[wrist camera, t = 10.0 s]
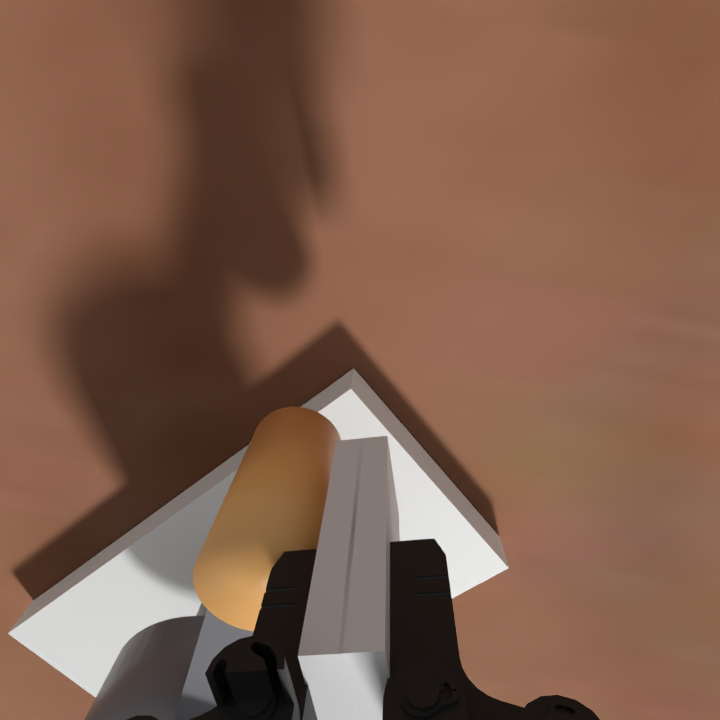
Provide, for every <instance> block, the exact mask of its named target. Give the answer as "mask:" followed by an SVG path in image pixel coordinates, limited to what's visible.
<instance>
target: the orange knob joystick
mask: <svg viewBox="0 0 720 720" xmlns="http://www.w3.org/2000/svg"><path fill="white" fill-rule="evenodd" d="M340 440H341V438H340V435H339V433H338V431H337V429H336V428H335V426H334V425H333V424H332V423H331V421H330V420H328V419H327V418H326V417H325V416H323V415H322V414H320V413H318V412H316V411H314V410H311V409H308V408H304V407H285V408H281V409H278V410H275V411H273V412H271V413H270V414H268V415H267V416H266V417H265V418H263V419H262V421H261V422H260V423H259V425H258V426H257V428H256V430H255V432H254V435H253V437H252V439H251V441H250V443H249V446H248V448H247V450H246V452H245V454H244V457H243V459H242V461H241V463H240V465H239V468H238V470H237V472H236V474H235V476H234V479H233V481H232V483H231V485H230V487H229V490H228V492H227V494H226V496H225V498H224V501H223V503H222V505H221V507H220V509H219V512H218V514H217V516H216V518H215V520H214V523H213V525H212V527H211V529H210V531H209V534H208V536H207V538H206V540H205V542H204V545H203V547H202V549H201V551H200V553H199V556H198V558H197V560H196V563H195V565H194V569H193V584H194V588H195V591H196V594H197V596H198V598H199V599H200V601H201V602H202V604H203V605H204V606H205V607H206V608H207V611H206V615H205V616H186V617H178V618H172V619H168V620H164V621H161V622H158V623H155V624H153V625H151V626H148V627H146V628H145V629H143V630H141V631H140V632H138V633H137V634H135V635H134V636H133V637H132V638H131V639H129V640H128V642H127V643H126V644H125V645H124V646H123V648H122V649H121V651H120V653H119V655H118V657H117V658H116V660H115V662H114V664H113V666H112V668H111V670H110V672H109V674H108V676H107V678H106V679H105V681H104V683H103V685H102V687H101V689H100V691H99V693H98V695H97V697H96V699H95V700H94V702H93V704H92V706H91V708H90V710H89V712H88V714H87V716H86V718H85V720H126V719H129V718H132V717H134V716H137V715H151V716H153V717H155V718H157V719H158V720H190V719H192V718H195V717H197V716H200V715H202V714H204V713H206V712H208V711H210V710H212V709H213V708H214V707H216V706H217V704H216V702H215V699H214V696H213V694H212V691H211V688H210V686H209V683H208V680H207V678H206V675H205V672H206V671H207V669H208V667H209V665H210V663H211V661H212V660H213V658H214V657H215V656H216V655H217V654H218V653H219V652H220V651H221V650H222V649H223V648H224V647H226V646H228V645H229V644H231V643H233V642H235V641H236V640H238V639H241V638H245V637H250V636H253V632H254V629H255V625H256V622H257V618H258V614H259V611H260V609H261V604H262V600H263V597H264V593H266V586H267V582H268V579H269V575H270V572H271V569H272V567H273V566H274V565H275V563H276V562H277V561H278V560H279V558H280V557H281V556H282V554H283V553H284V552H285V551H297V550H310V549H317V547H318V541H319V536H320V530H321V525H322V519H323V514H324V508H325V503H326V497H327V492H328V486H329V481H330V475H331V470H332V464H333V458H334V453H335V447H336V442H337V441H340Z"/></svg>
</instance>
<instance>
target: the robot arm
mask: <svg viewBox="0 0 720 720" xmlns="http://www.w3.org/2000/svg"><path fill="white" fill-rule="evenodd" d="M205 675H206V678H207V680H208V683H209V686H210V688H211V691H212V694H213V696H214V699H215V702H216V704H217V706H216V707H214V708H213V709H212V710H210V711H208V712H206V713H204V714H202V715H200V716H197V717H195V718H192V719H190V720H600V719H599V718H598V717H597V716H596V715H595V713H594V712H593V711H592V710H590V709H589V708H587V707H586V706H584V705H583V704H581V703H579V702H578V701H576V700H574V699H570V698H567V697H563V696H559V695H552V696H541V697H539V698H537V699H535V700H534V701H532V702H530V703H528V704H527V705H526V706H525V708H523V707H520V706H516V705H513V704H509V703H506V702H502V701H500V700H497V699H495V698H492V697H490V696H488V695H486V694H485V693H483V692H482V691H480V690H479V689H478V688H476V687H475V685H474V684H473V683H472V682H471V681H470V680H469V679H468V677H467V676H466V674H465V672H464V670H463V668H462V665H461V661H460V658H459V650H458V643H457V635H456V627H455V620H454V612H453V605H452V597H451V590H450V582H449V575H448V567H447V560H446V554H445V553H444V551H443V550H442V549H441V547H440V546H439V544H438V543H437V542H436V540H435V539H434V538H433V539H420V540H407V541H400V536H399V512H398V505H397V498H396V491H395V484H394V478H393V471H392V464H391V457H390V450H389V444H388V437H387V436H380V437H369V438H360V439H350V440H340V441H337V442H336V447H335V453H334V458H333V464H332V470H331V475H330V481H329V486H328V492H327V497H326V503H325V508H324V514H323V519H322V525H321V530H320V536H319V541H318V547H317V549H310V550H297V551H285V552H284V553H283V554H282V556H281V557H280V558H279V560H278V561H277V562H276V563H275V565H274V566H273V567H272V569H271V572H270V575H269V579H268V582H267V586H266V593H264V597H263V600H262V604H261V609H260V611H259V614H258V618H257V622H256V625H255V629H254V632H253V636H250V637H245V638H241V639H238V640H236V641H235V642H233V643H231V644H229V645H228V646H226V647H224V648H223V649H222V650H221V651H220V652H219V653H218V654H217V655H216V656H215V657H214V658H213V660H212V661H211V663H210V665H209V667H208V669H207V671H206V672H205ZM126 720H158V719H157V718H155V717H153V716H151V715H137V716H134V717H132V718H129V719H126Z"/></svg>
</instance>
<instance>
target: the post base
mask: <svg viewBox="0 0 720 720" xmlns="http://www.w3.org/2000/svg"><path fill="white" fill-rule="evenodd" d="M301 407H304V408H308V409H311V410H314V411H316V412H318V413H320V414H322V415H323V416H325V417H326V418H327V419H328V420H330V421H331V423H332V424H333V425H334V426H335V428H336V429H337V431H338V433H339V435H340V438H341V440H350V439H360V438H369V437H380V436H387V437H388V444H389V450H390V457H391V464H392V471H393V478H394V484H395V491H396V498H397V505H398V512H399V536H400V541H407V540H420V539H433V538H434V539H435V540H436V542H437V543H438V544H439V546H440V547H441V549H442V550H443V551H444V553H445V554H446V560H447V567H448V575H449V582H450V590H451V597H452V598H454V597H456V596H458V595H459V594H461V593H463V592H465V591H467V590H469V589H471V588H472V587H474V586H476V585H478V584H480V583H482V582H484V581H485V580H487V579H489V578H491V577H493V576H495V575H497V574H498V573H500V572H502V571H504V570H506V569H508V568H509V567H508V564H507V561H506V557H505V554H504V550H503V547H502V544H501V540H500V537H499V535H498V534H497V533H496V532H495V531H494V530H493V529H492V527H491V526H490V525H489V524H488V523H487V522H486V520H485V519H484V518H483V517H482V516H481V515H480V513H479V512H478V511H477V510H476V509H475V508H474V507H473V505H472V504H471V503H470V502H469V501H468V500H467V498H466V497H465V496H464V495H463V494H462V493H461V492H460V490H459V489H458V488H457V487H456V486H455V485H454V483H453V482H452V481H451V480H450V479H449V478H448V477H447V475H446V474H445V473H444V472H443V471H442V470H441V468H440V467H439V466H438V465H437V464H436V463H435V461H434V460H433V459H432V458H431V457H430V456H429V455H428V453H427V452H426V451H425V450H424V449H423V448H422V446H421V445H420V444H419V443H418V442H417V441H416V440H415V438H414V437H413V436H412V435H411V434H410V433H409V431H408V430H407V429H406V428H405V427H404V426H403V425H402V423H401V422H400V421H399V420H398V419H397V418H396V416H395V415H394V414H393V413H392V412H391V411H390V409H389V408H388V407H387V406H386V405H385V404H384V403H383V401H382V400H381V399H380V398H379V397H378V396H377V394H376V393H375V392H374V391H373V390H372V389H371V388H370V386H369V385H368V384H367V383H366V382H365V381H364V379H363V378H362V377H361V376H360V375H359V374H358V373H357V371H356V370H355V369H354V368H353V369H352V370H350V371H349V372H348V373H346V374H345V375H344V376H342V377H341V378H339V379H338V380H337V381H335V382H334V383H333V384H331V385H330V386H328V387H327V388H326V389H324V390H323V391H322V392H320V393H319V394H317V395H316V396H315V397H313V398H312V399H311V400H309V401H308V402H306V403H305V404H304V405H302V406H301ZM248 446H249V444H248V445H247V446H246V447H244V448H243V449H242V450H240V451H239V452H237V453H236V454H235V455H233V456H232V457H231V458H229V459H228V460H226V461H225V462H224V463H222V464H221V465H220V466H218V467H217V468H215V469H214V470H213V471H211V472H210V473H209V474H207V475H206V476H204V477H203V478H202V479H200V480H199V481H197V482H196V483H195V484H193V485H192V486H191V487H189V488H188V489H186V490H185V491H184V492H182V493H181V494H180V495H178V496H177V497H175V498H174V499H173V500H171V501H170V502H169V503H167V504H166V505H164V506H163V507H162V508H160V509H159V510H158V511H156V512H155V513H153V514H152V515H151V516H149V517H148V518H146V519H145V520H144V521H142V522H141V523H140V524H138V525H137V526H135V527H134V528H133V529H131V530H130V531H129V532H127V533H126V534H124V535H123V536H122V537H120V538H119V539H118V540H116V541H115V542H113V543H112V544H111V545H109V546H108V547H107V548H105V549H104V550H102V551H101V552H100V553H98V554H97V555H95V556H94V557H93V558H91V559H90V560H89V561H87V562H86V563H84V564H83V565H82V566H80V567H79V568H78V569H76V570H75V571H73V572H72V573H71V574H69V575H68V576H67V577H65V578H64V579H62V580H61V581H60V582H58V583H57V584H56V585H54V586H53V587H51V588H50V589H49V590H47V591H46V592H45V593H43V594H42V595H40V596H39V597H38V598H36V599H35V600H33V601H32V603H31V604H30V605H29V607H28V608H27V609H26V610H25V612H24V613H23V614H22V616H21V617H20V618H19V620H18V621H17V622H16V623H15V625H14V626H13V627H12V629H11V630H10V631H9V632H8V634H9V635H11V636H12V637H13V638H15V639H16V640H17V641H19V642H20V643H22V644H23V645H24V646H26V647H27V648H28V649H30V650H31V651H33V652H34V653H35V654H37V655H38V656H39V657H41V658H42V659H43V660H45V661H46V662H48V663H49V664H50V665H52V666H53V667H54V668H56V669H57V670H59V671H60V672H61V673H63V674H64V675H65V676H67V677H68V678H70V679H71V680H72V681H74V682H75V683H76V684H78V685H79V686H80V687H82V688H83V689H85V690H86V691H87V692H89V693H90V694H91V695H93V696H94V697H97V695H98V693H99V691H100V689H101V687H102V685H103V683H104V681H105V679H106V678H107V676H108V674H109V672H110V670H111V668H112V666H113V664H114V662H115V660H116V658H117V657H118V655H119V653H120V651H121V649H122V648H123V646H124V645H125V644H126V643H127V642H128V640H129V639H131V638H132V637H133V636H134V635H135V634H137V633H138V632H140V631H141V630H143V629H145V628H146V627H148V626H151V625H153V624H155V623H158V622H161V621H164V620H168V619H172V618H178V617H186V616H205V615H206V611H207V608H206V607H205V606H204V605H203V604H202V602H201V601H200V599H199V598H198V596H197V594H196V591H195V588H194V584H193V569H194V565H195V563H196V560H197V558H198V556H199V553H200V551H201V549H202V547H203V545H204V542H205V540H206V538H207V536H208V534H209V531H210V529H211V527H212V525H213V523H214V520H215V518H216V516H217V514H218V512H219V509H220V507H221V505H222V503H223V501H224V498H225V496H226V494H227V492H228V490H229V487H230V485H231V483H232V481H233V479H234V476H235V474H236V472H237V470H238V468H239V465H240V463H241V461H242V459H243V457H244V454H245V452H246V450H247V448H248Z"/></svg>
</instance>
